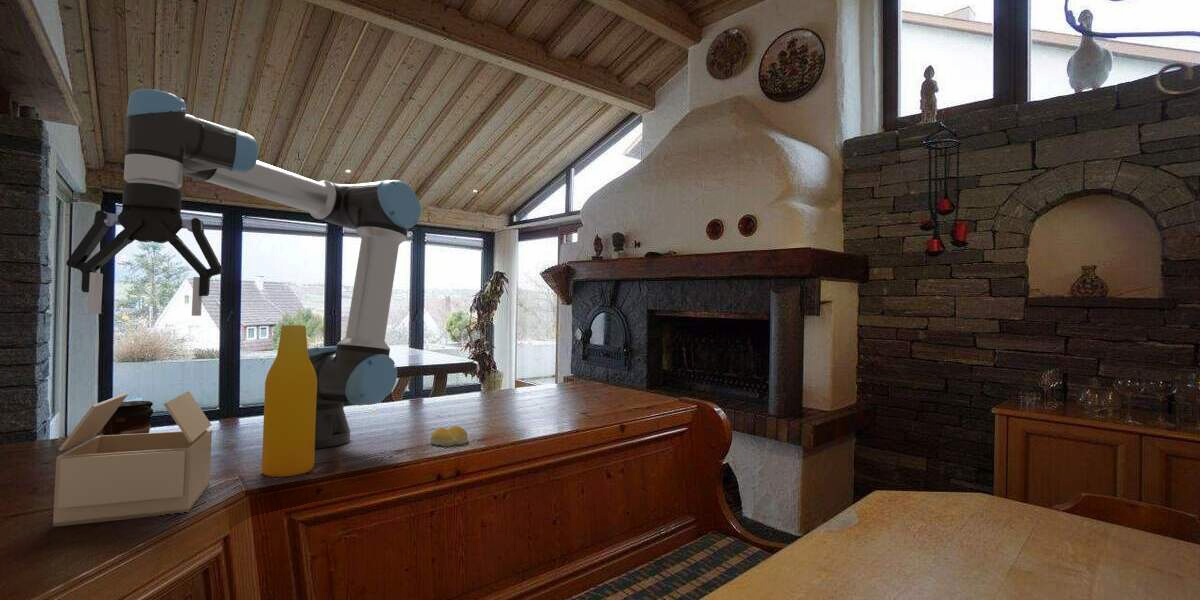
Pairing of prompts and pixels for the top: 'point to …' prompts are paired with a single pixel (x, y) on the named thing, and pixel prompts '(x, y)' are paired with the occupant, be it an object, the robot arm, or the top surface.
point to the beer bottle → (290, 407)
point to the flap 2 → (188, 415)
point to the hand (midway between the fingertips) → (146, 315)
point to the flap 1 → (94, 420)
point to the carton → (130, 477)
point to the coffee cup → (129, 419)
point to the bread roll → (449, 436)
